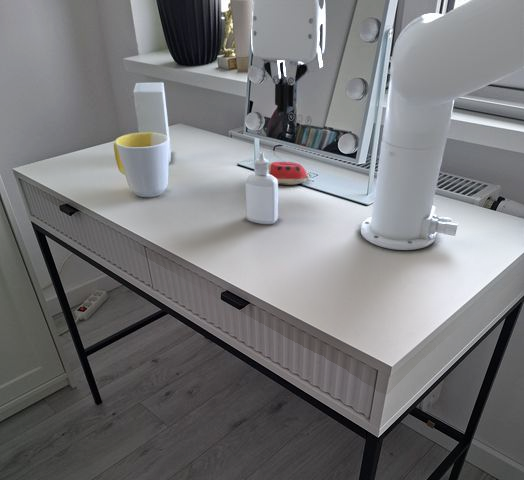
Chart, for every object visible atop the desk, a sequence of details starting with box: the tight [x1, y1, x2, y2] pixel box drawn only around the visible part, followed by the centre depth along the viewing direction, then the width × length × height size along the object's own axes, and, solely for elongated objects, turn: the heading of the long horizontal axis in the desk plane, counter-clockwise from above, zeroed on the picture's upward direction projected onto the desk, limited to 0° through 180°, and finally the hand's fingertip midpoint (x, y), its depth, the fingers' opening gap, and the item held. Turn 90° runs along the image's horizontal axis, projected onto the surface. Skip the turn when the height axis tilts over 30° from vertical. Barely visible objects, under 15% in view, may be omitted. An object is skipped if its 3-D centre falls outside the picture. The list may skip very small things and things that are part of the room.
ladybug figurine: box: [268, 161, 310, 186], centre depth 106 cm, size 7×10×4 cm
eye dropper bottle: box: [245, 151, 279, 225], centre depth 88 cm, size 4×6×12 cm
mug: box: [113, 132, 169, 198], centre depth 101 cm, size 14×10×10 cm
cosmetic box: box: [132, 81, 172, 164], centre depth 115 cm, size 8×7×16 cm
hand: (285, 110), depth 79 cm, fingers closed
